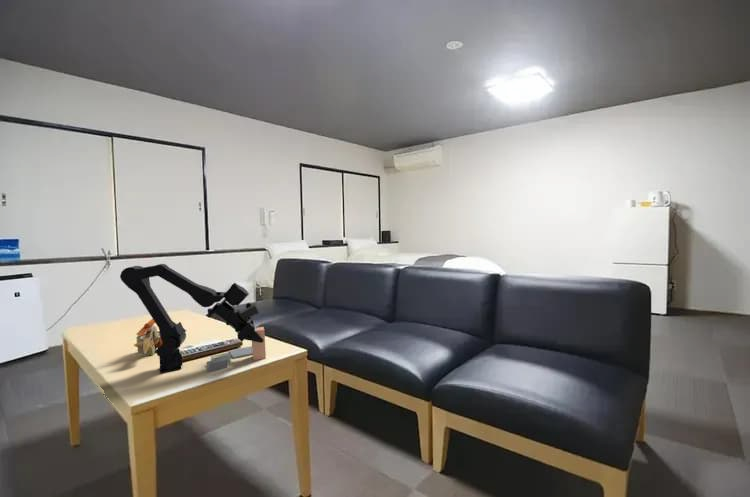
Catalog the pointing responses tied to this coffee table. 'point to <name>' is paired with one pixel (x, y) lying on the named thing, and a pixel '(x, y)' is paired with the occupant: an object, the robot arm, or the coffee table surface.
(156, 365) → the coffee table surface
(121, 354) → the coffee table surface
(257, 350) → the terracotta block
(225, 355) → the sage brick
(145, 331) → the toy house
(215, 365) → the charcoal brick
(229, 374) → the coffee table surface
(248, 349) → the slate pad
